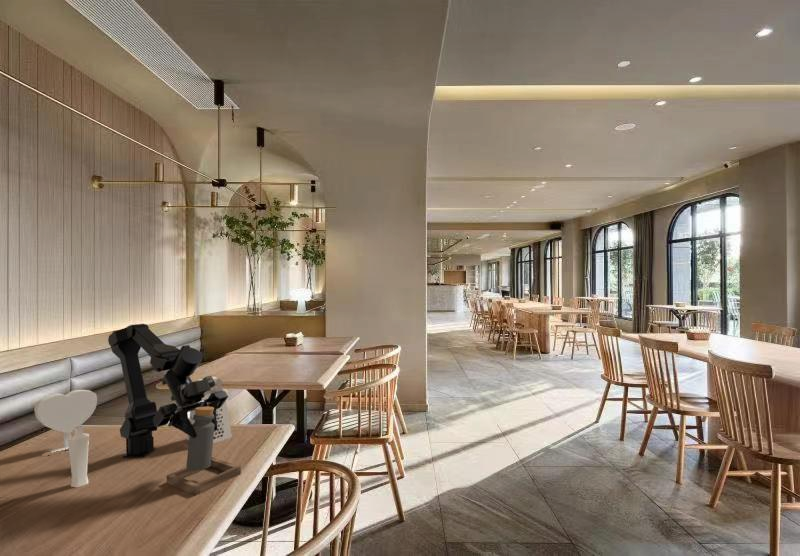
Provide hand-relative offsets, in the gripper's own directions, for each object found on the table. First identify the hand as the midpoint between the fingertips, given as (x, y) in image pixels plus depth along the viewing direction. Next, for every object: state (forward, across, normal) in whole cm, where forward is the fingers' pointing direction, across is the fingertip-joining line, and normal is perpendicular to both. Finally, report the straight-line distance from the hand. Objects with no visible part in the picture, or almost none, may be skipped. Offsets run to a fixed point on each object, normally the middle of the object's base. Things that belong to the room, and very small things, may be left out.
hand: (206, 433), depth 110 cm
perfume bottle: (-11, -18, +29) cm, 35 cm away
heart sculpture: (-34, -9, +52) cm, 63 cm away
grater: (-10, +19, +28) cm, 35 cm away
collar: (+8, 0, +9) cm, 12 cm away
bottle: (+5, -2, +7) cm, 9 cm away
